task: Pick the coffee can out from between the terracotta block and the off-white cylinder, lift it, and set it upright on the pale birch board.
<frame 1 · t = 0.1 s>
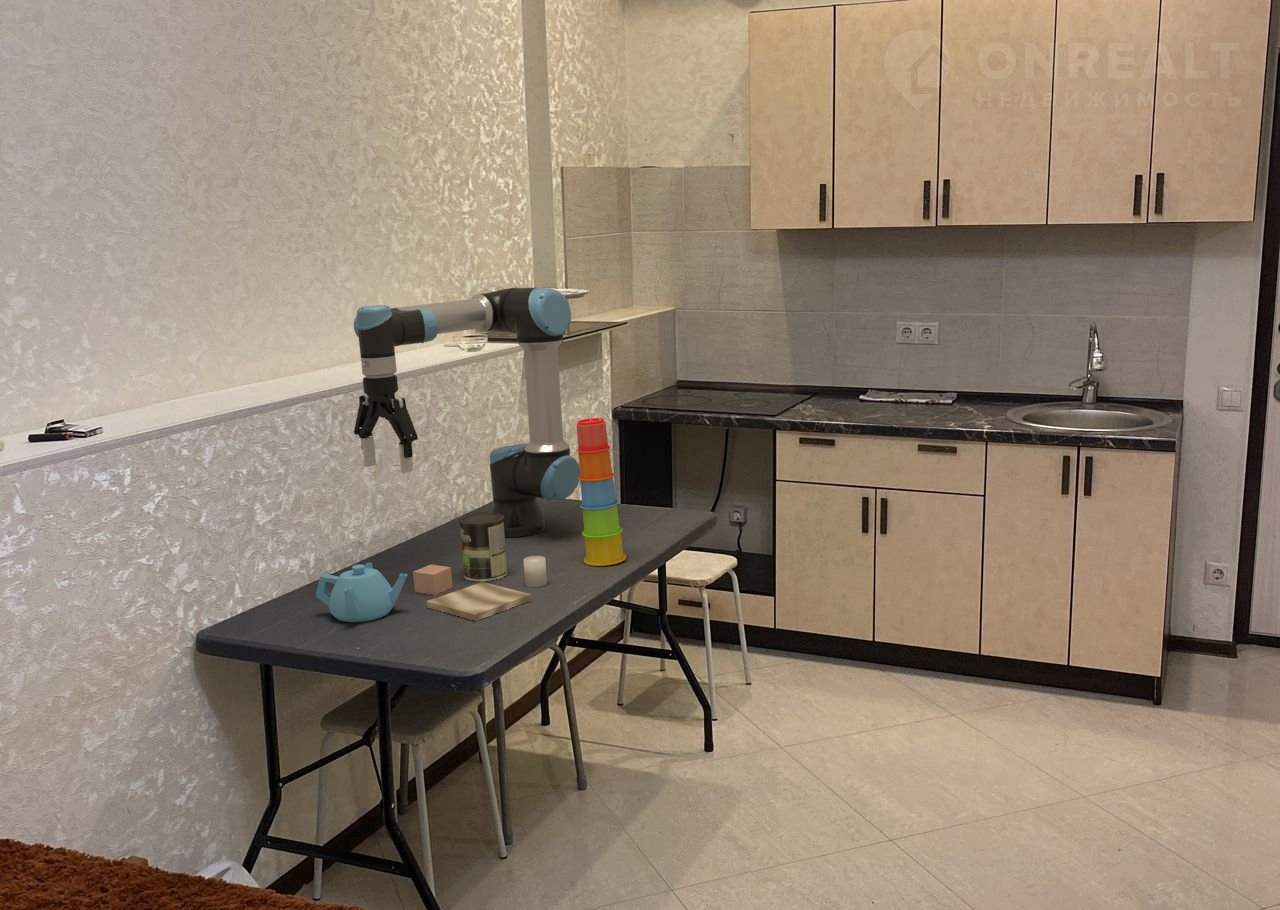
hand: (388, 468, 265), 28 cm above the table, tool pointing down, fingers open, 13 cm apart
birch board: (479, 604, 255), on the table
coffee can: (486, 576, 276), on the table
stacking cups: (605, 561, 283), on the table
terracotta block: (433, 590, 267), on the table
off-white cylinder: (536, 584, 267), on the table
teapot: (364, 614, 253), on the table
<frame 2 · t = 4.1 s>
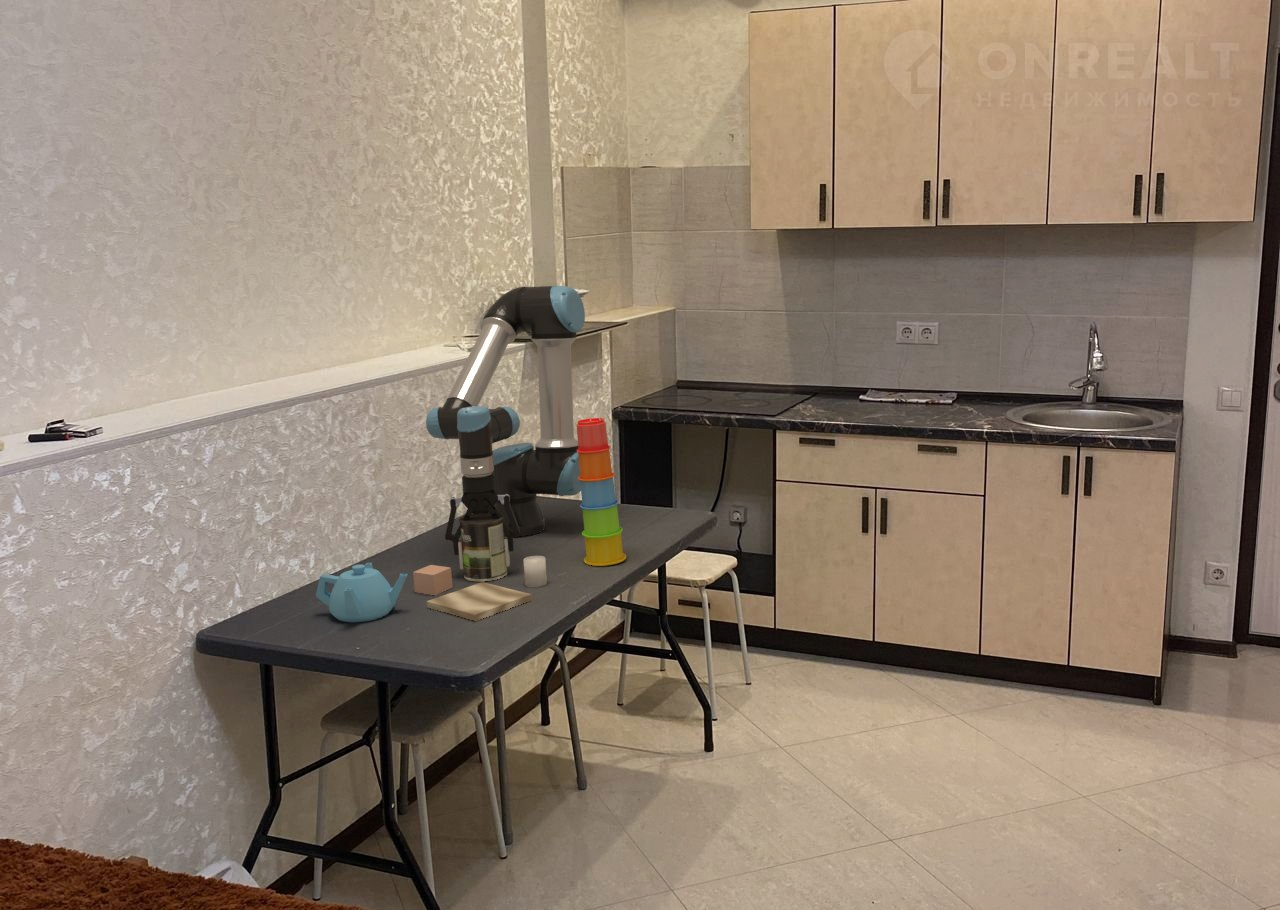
hand: (485, 566, 275), 2 cm above the table, tool pointing down, fingers closed on coffee can, 10 cm apart
coffee can: (486, 576, 276), on the table, touching gripper
everything else where it was.
when the fingers open (6 cm above the table, at t = 10.1 s): coffee can drops 2 cm, resting on birch board.
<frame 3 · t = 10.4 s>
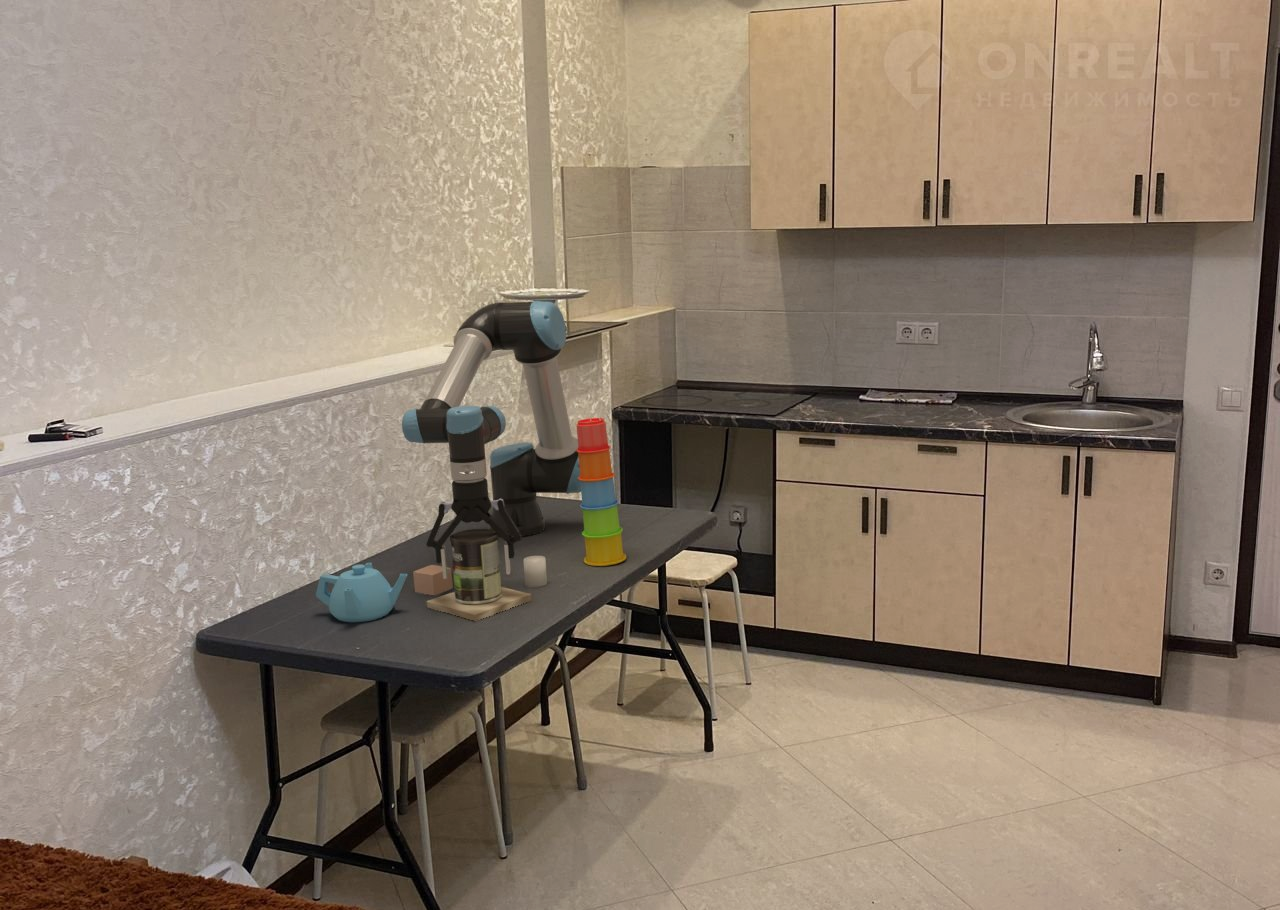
hand: (477, 574, 254), 7 cm above the table, tool pointing down, fingers open, 13 cm apart
coffee can: (479, 598, 255), point 1 cm above the table, touching birch board
everything else where it was.
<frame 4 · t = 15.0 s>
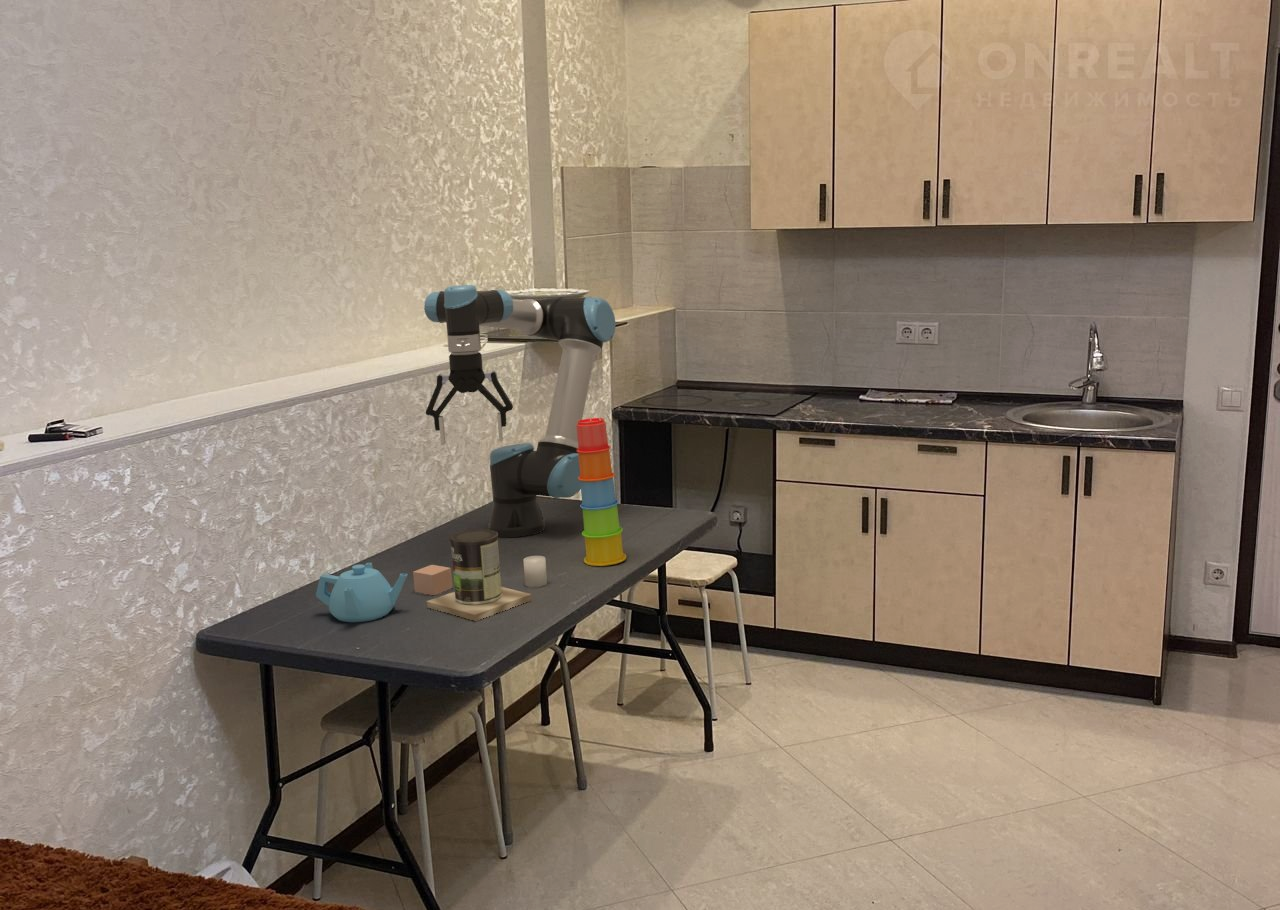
hand: (472, 442, 276), 31 cm above the table, tool pointing down, fingers open, 13 cm apart
nothing on the table moved.
at the end: coffee can inside the target area on the birch board (0.0 cm from its centre), point 1.3 cm above the birch board's base; coffee can tilted 0°; the gripper is holding nothing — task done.
